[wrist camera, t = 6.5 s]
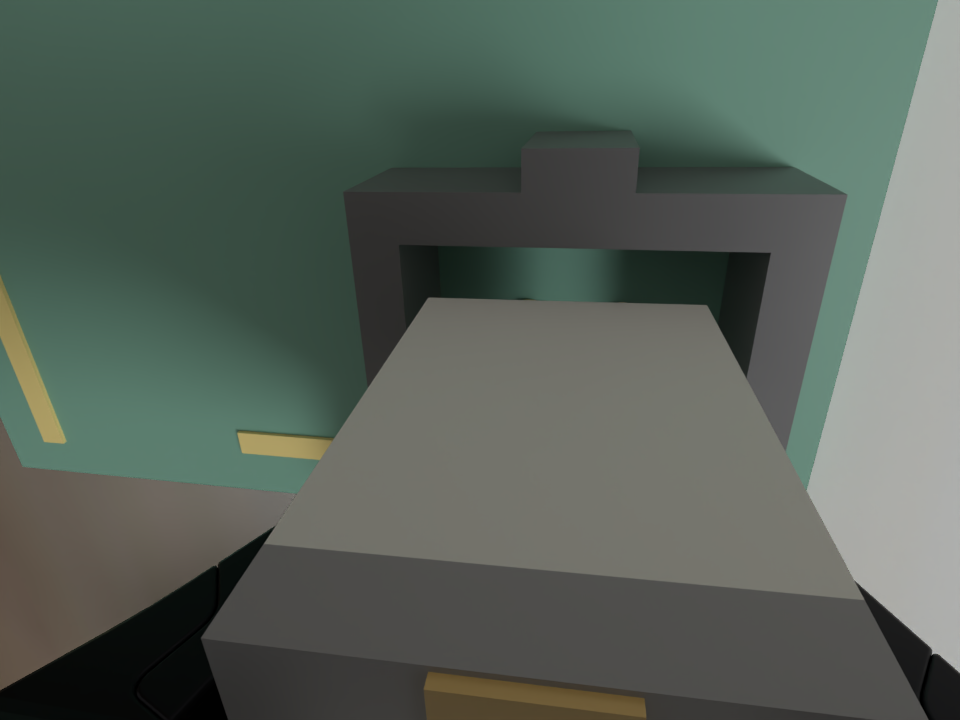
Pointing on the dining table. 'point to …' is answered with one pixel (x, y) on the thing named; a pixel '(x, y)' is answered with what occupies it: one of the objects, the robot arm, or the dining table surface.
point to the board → (354, 159)
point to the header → (609, 239)
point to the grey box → (554, 541)
